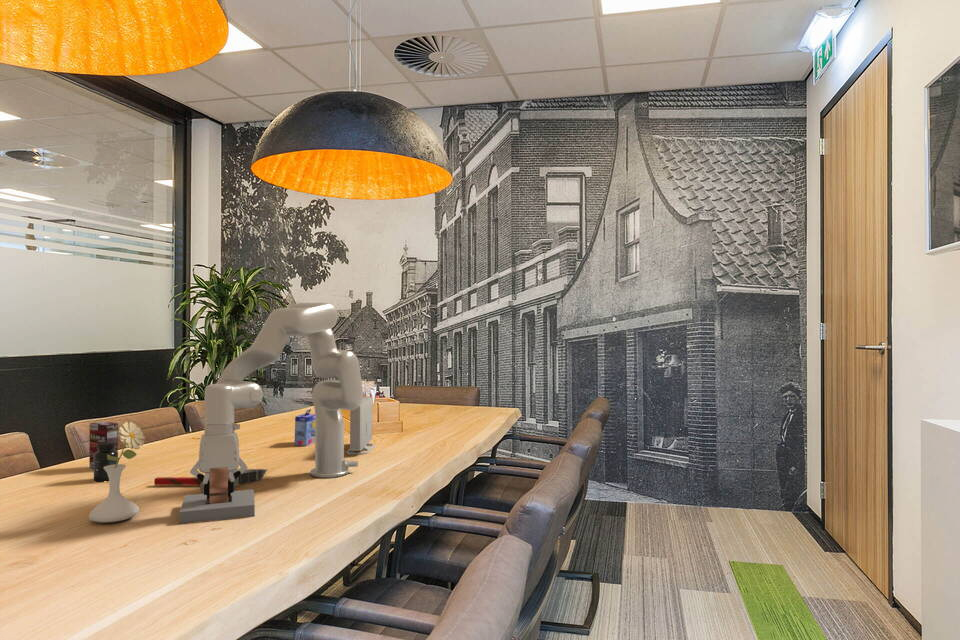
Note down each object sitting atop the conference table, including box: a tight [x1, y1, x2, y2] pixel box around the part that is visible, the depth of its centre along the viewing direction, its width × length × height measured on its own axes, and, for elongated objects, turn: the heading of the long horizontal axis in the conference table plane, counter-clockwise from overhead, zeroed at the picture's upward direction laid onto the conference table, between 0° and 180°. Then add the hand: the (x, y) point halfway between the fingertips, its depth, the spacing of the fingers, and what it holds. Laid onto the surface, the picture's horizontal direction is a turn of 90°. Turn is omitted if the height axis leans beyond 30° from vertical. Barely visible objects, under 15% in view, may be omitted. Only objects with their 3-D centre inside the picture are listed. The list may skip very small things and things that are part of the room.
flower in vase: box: [88, 421, 146, 524], centre depth 162 cm, size 13×11×25 cm
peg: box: [209, 467, 228, 504], centre depth 169 cm, size 5×5×10 cm
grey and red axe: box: [153, 468, 268, 494], centre depth 197 cm, size 24×4×30 cm
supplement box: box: [88, 421, 119, 469], centre depth 217 cm, size 9×5×16 cm, turn 68°
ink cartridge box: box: [293, 408, 315, 447], centre depth 261 cm, size 10×6×14 cm, turn 171°
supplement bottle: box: [93, 442, 119, 483], centre depth 201 cm, size 7×7×12 cm
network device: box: [345, 396, 376, 456], centre depth 250 cm, size 26×9×20 cm, turn 179°
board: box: [179, 489, 256, 524], centre depth 169 cm, size 18×16×3 cm
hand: (219, 495), depth 169 cm, fingers closed on peg, 4 cm apart
